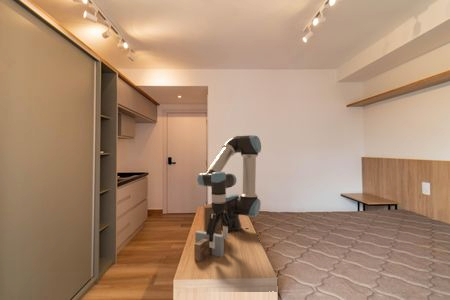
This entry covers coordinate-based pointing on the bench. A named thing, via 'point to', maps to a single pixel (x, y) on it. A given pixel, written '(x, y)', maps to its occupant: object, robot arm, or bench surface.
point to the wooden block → (207, 213)
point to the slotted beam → (203, 248)
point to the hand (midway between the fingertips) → (219, 242)
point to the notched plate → (218, 242)
